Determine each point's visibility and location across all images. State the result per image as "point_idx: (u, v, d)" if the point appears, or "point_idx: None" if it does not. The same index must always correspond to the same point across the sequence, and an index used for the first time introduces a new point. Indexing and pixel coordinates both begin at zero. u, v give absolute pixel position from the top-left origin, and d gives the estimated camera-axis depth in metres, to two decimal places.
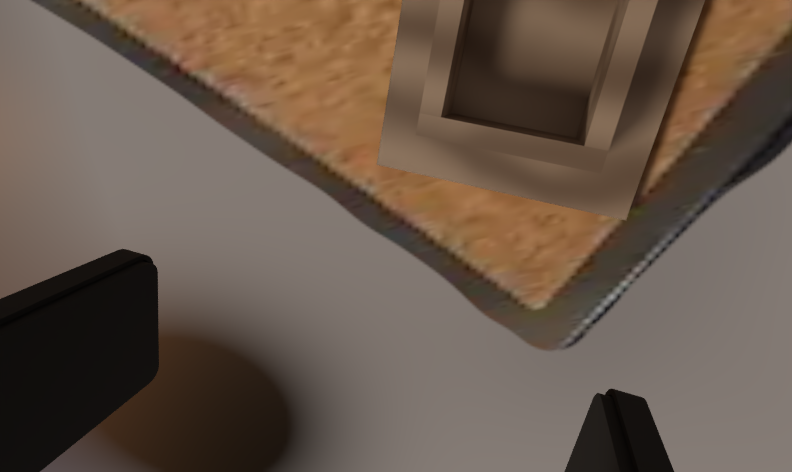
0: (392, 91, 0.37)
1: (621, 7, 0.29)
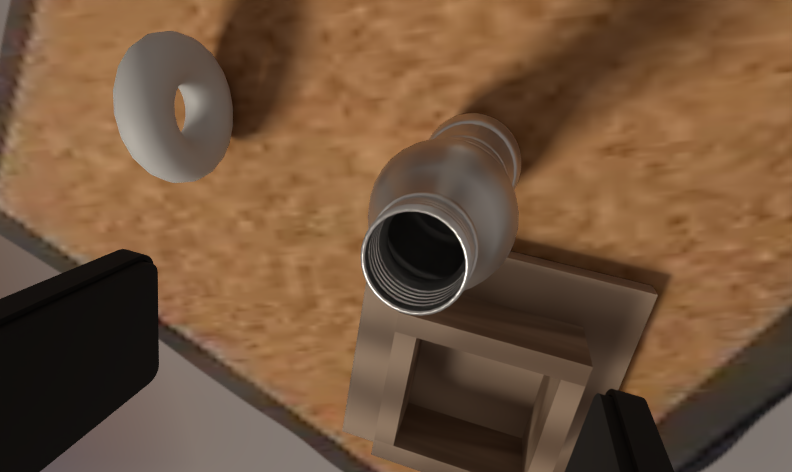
0: (354, 378, 0.40)
1: None
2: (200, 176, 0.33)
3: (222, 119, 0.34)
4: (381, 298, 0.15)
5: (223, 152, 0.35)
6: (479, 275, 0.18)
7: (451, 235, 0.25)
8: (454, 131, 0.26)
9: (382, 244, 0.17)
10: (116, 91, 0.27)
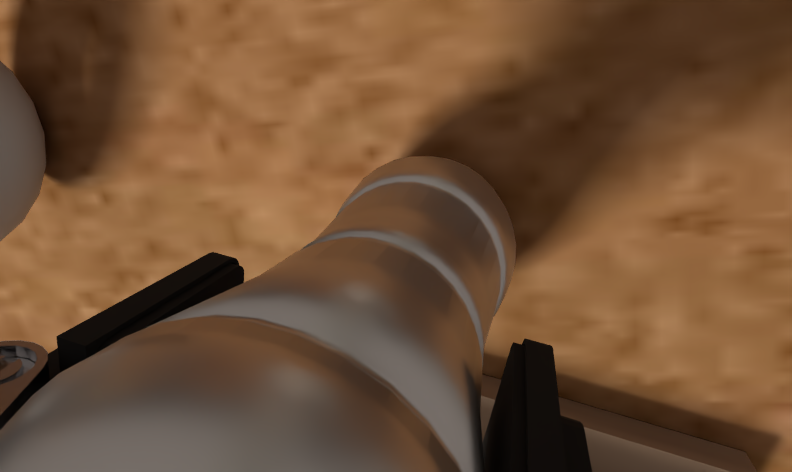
0: None
1: None
2: None
3: (12, 156, 0.20)
4: None
5: (18, 211, 0.21)
6: None
7: None
8: (368, 207, 0.12)
9: None
10: None
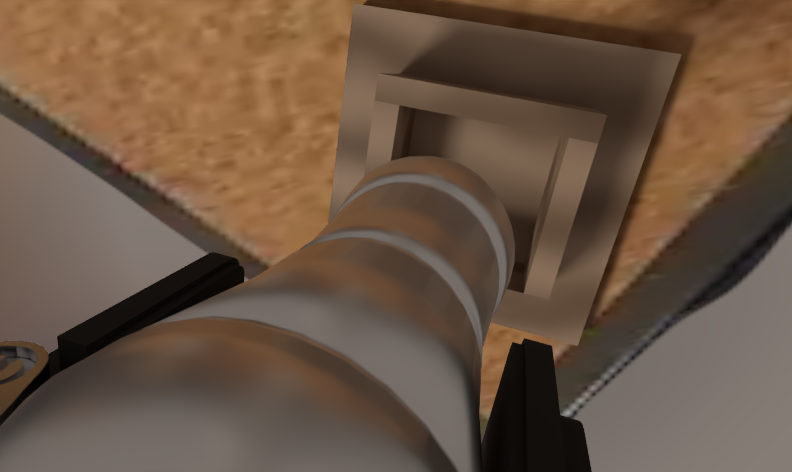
0: (334, 207, 0.35)
1: (560, 150, 0.27)
2: None
3: None
4: None
5: None
6: None
7: None
8: (367, 207, 0.12)
9: None
10: None
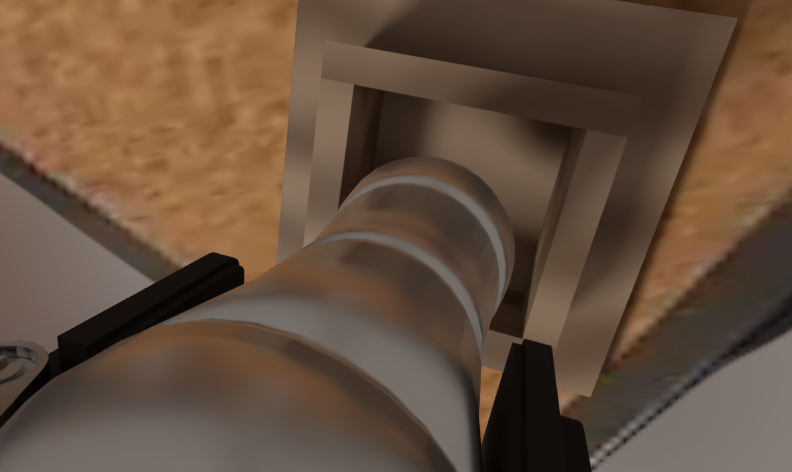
0: (285, 219, 0.28)
1: (573, 148, 0.20)
2: None
3: None
4: None
5: None
6: None
7: None
8: (367, 209, 0.12)
9: None
10: None
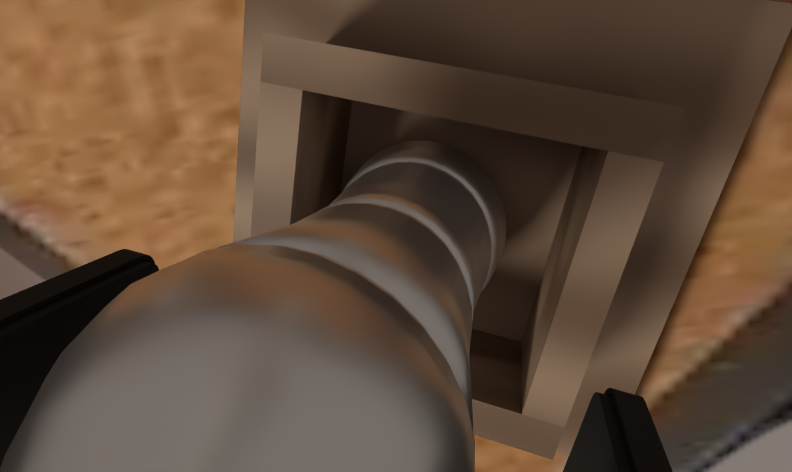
0: None
1: (587, 172, 0.16)
2: None
3: None
4: None
5: None
6: None
7: None
8: (371, 182, 0.13)
9: None
10: None
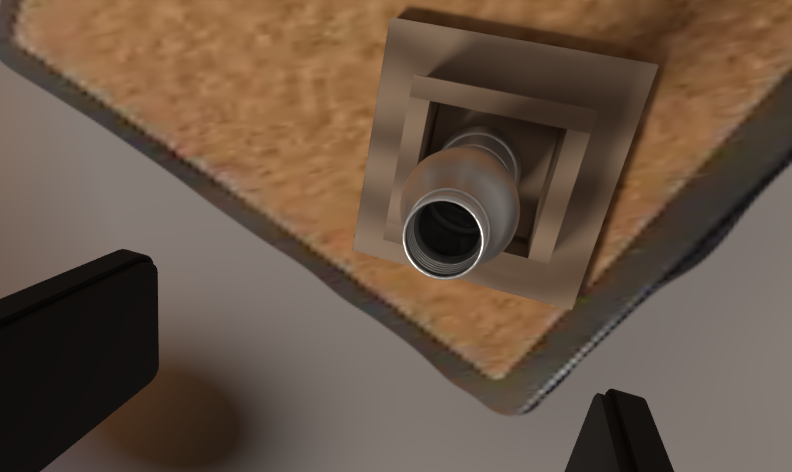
0: (366, 189, 0.41)
1: (560, 141, 0.33)
2: None
3: None
4: (417, 267, 0.20)
5: None
6: (489, 254, 0.23)
7: (463, 227, 0.30)
8: (466, 141, 0.31)
9: (416, 227, 0.22)
10: None
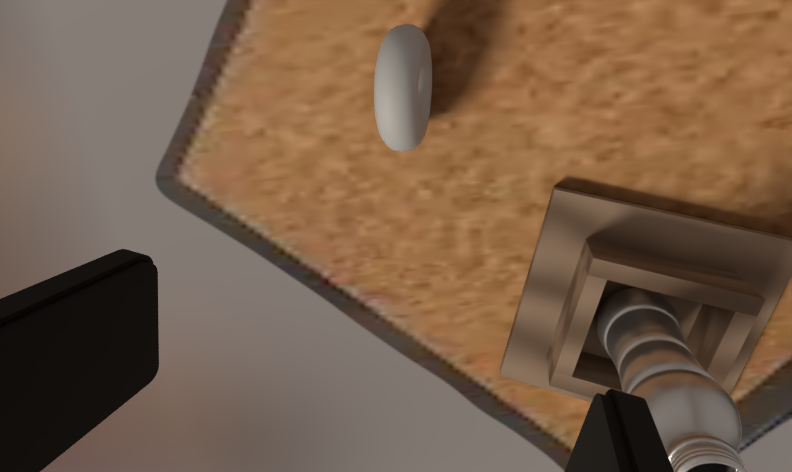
0: (517, 326, 0.46)
1: (718, 310, 0.38)
2: (416, 146, 0.39)
3: (428, 99, 0.41)
4: None
5: (426, 127, 0.41)
6: (718, 469, 0.28)
7: None
8: (647, 323, 0.36)
9: None
10: (384, 72, 0.34)
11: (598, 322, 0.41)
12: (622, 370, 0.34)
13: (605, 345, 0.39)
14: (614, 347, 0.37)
